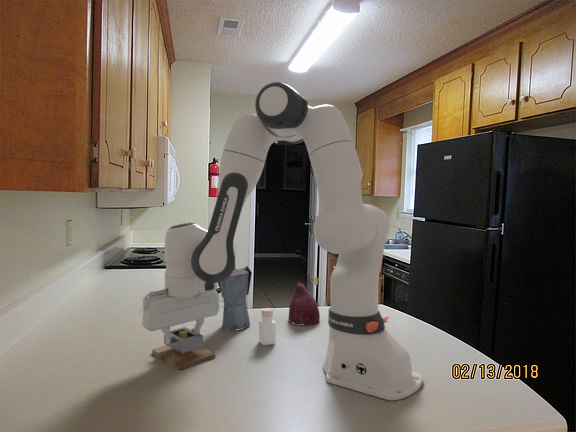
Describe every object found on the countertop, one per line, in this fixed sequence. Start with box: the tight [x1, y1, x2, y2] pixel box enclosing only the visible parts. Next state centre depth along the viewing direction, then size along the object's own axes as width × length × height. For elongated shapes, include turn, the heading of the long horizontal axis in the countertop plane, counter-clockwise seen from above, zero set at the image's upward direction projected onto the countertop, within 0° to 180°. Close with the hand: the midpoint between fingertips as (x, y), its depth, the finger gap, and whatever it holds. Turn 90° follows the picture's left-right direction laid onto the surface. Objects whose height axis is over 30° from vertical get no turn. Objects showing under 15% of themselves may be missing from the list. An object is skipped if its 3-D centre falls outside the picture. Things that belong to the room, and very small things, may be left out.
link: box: [163, 326, 204, 354], centre depth 98 cm, size 9×6×3 cm, turn 45°
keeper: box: [151, 331, 216, 371], centre depth 98 cm, size 14×10×6 cm
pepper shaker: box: [258, 307, 277, 346], centre depth 106 cm, size 4×4×10 cm
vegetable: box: [288, 281, 321, 326], centre depth 125 cm, size 10×10×15 cm
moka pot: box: [218, 265, 252, 331], centre depth 121 cm, size 10×15×20 cm, turn 152°
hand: (183, 339), depth 98 cm, fingers closed on link, 6 cm apart
